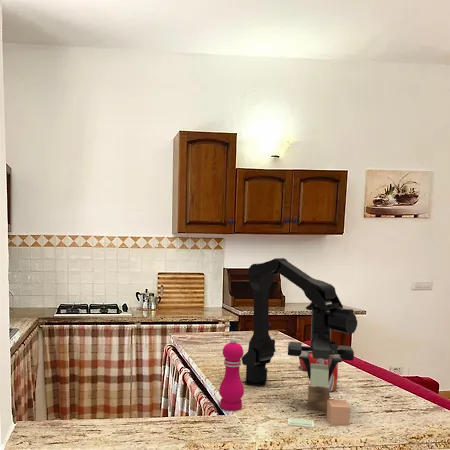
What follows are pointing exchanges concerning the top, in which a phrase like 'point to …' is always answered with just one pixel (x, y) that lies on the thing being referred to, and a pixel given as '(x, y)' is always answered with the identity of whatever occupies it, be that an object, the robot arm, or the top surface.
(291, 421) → the swatch
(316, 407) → the walnut block
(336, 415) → the peach block
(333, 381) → the soda can
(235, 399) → the pepper mill
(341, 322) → the robot arm
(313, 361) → the pomegranate
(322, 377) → the sage block
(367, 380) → the top surface
